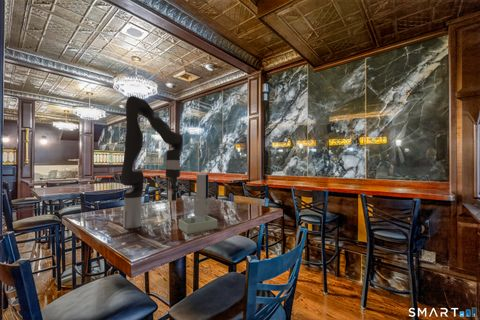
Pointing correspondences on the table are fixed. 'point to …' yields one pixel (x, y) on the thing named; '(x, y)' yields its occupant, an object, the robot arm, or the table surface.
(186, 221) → the tote
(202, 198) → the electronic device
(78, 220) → the table surface
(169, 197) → the jar
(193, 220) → the block
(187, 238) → the table surface
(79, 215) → the table surface
